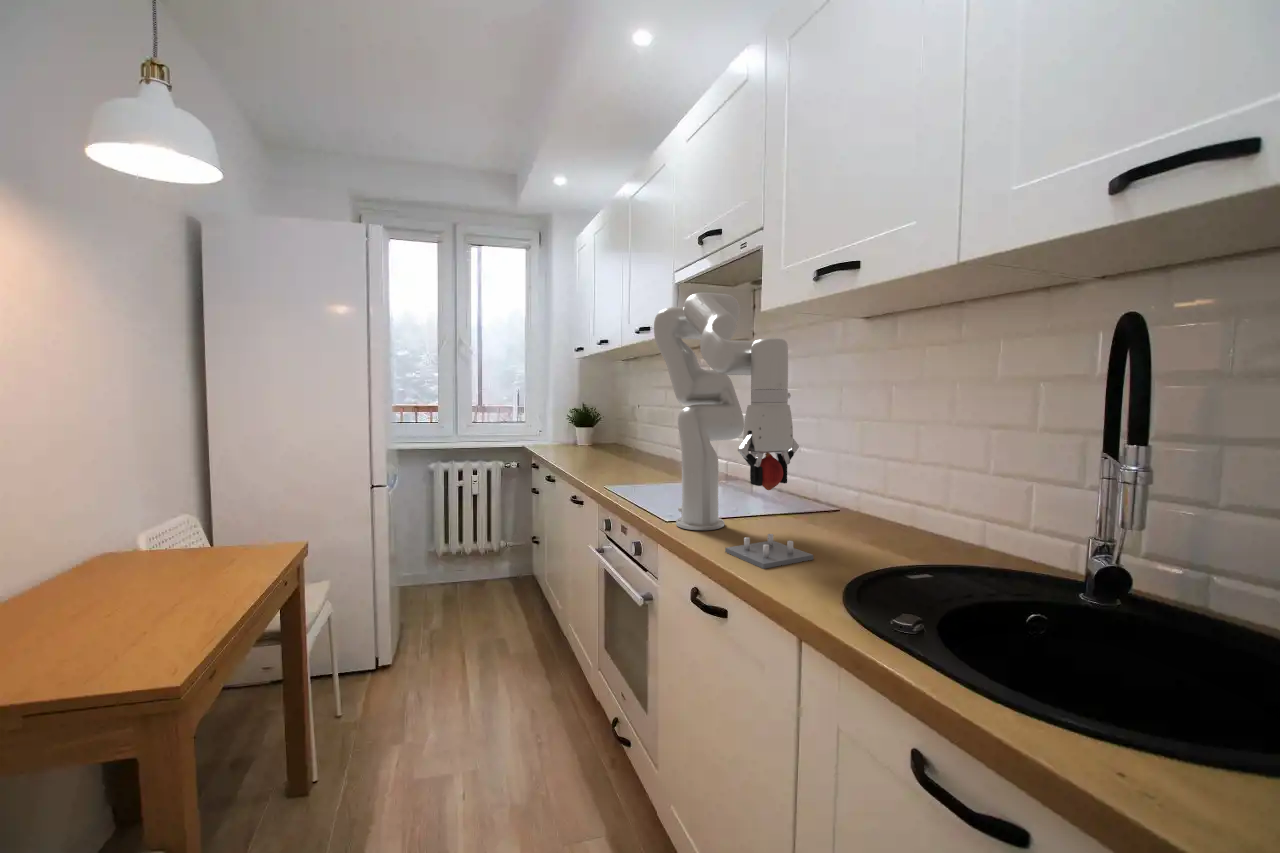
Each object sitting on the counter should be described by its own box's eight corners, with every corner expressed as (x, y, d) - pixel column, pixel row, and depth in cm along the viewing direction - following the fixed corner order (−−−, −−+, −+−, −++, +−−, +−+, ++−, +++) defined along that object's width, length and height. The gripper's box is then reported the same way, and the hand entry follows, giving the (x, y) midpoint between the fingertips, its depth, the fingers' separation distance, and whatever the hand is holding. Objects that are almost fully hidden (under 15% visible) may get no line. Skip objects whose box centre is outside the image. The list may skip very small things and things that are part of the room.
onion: (771, 487, 123) (771, 450, 122) (788, 491, 117) (789, 453, 117) (749, 489, 120) (749, 452, 120) (766, 493, 115) (766, 454, 114)
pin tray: (725, 552, 123) (725, 536, 122) (772, 544, 128) (772, 529, 128) (763, 568, 111) (763, 551, 111) (813, 559, 117) (813, 543, 117)
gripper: (789, 397, 125) (788, 478, 126) (724, 398, 117) (724, 484, 118) (813, 397, 118) (812, 483, 119) (746, 398, 110) (746, 489, 112)
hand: (768, 482), depth 119 cm, fingers closed on onion, 5 cm apart
